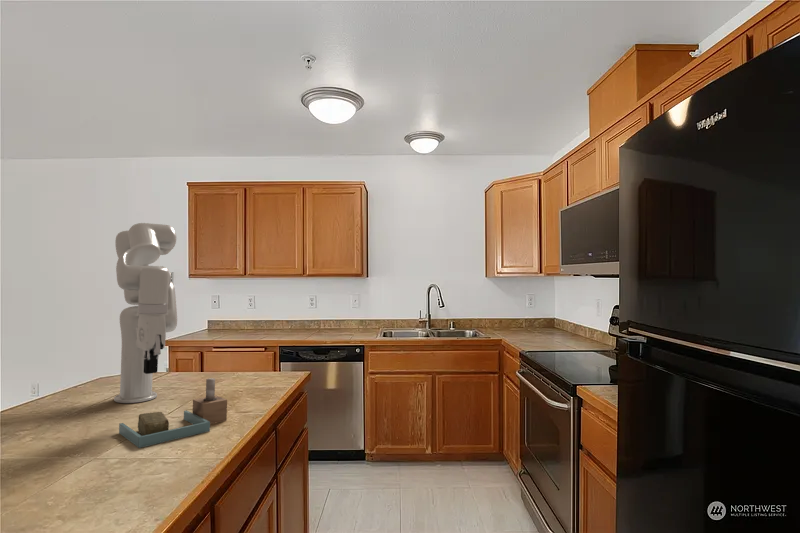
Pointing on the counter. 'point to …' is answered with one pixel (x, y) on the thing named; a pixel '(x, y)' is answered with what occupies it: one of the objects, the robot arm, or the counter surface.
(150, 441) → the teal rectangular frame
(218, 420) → the block with knob
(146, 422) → the stone block
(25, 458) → the counter surface
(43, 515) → the counter surface
